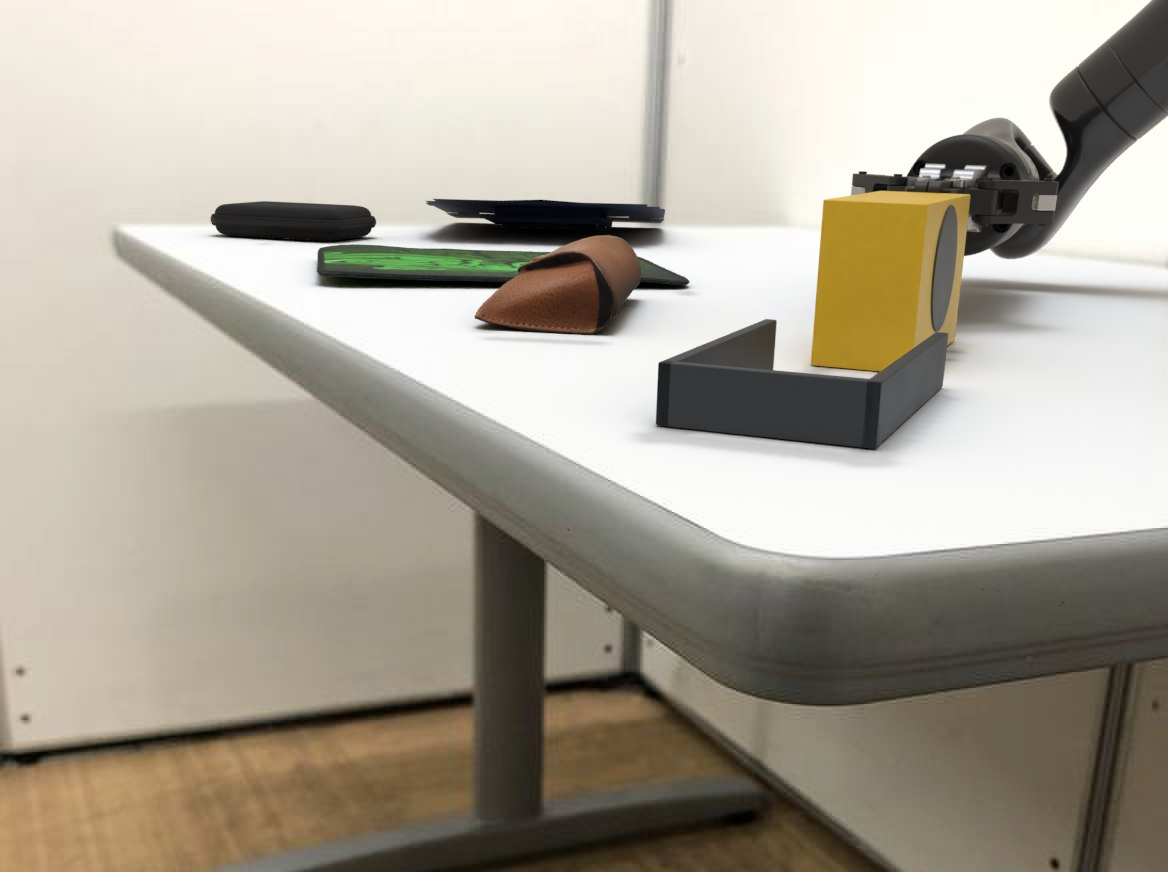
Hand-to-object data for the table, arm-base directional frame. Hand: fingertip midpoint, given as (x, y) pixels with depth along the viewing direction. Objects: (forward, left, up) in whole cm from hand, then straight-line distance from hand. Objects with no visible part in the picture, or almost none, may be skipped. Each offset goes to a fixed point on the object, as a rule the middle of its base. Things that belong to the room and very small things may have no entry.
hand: (925, 202), depth 78 cm
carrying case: (+45, -63, -8) cm, 78 cm away
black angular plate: (+20, -73, -8) cm, 76 cm away
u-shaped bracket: (+10, +21, -8) cm, 24 cm away
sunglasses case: (+20, -8, -8) cm, 23 cm away
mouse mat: (+25, -32, -8) cm, 41 cm away
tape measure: (+3, +6, -8) cm, 10 cm away
